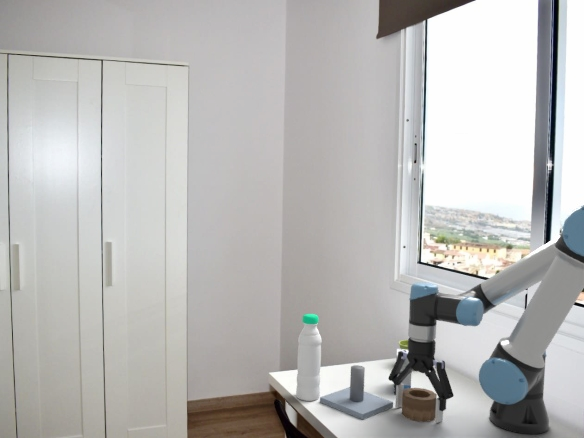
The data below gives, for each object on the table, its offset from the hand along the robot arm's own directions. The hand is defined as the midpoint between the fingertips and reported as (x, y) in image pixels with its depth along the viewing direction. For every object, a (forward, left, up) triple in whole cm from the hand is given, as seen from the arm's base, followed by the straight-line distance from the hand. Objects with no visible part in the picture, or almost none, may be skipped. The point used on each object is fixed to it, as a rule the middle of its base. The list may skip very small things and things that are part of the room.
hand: (418, 413), depth 155 cm
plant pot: (+26, -35, 0) cm, 44 cm away
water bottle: (+29, +15, 0) cm, 33 cm away
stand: (+16, +8, 0) cm, 18 cm away
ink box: (+15, -14, 0) cm, 20 cm away
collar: (0, 0, 0) cm, 0 cm away
